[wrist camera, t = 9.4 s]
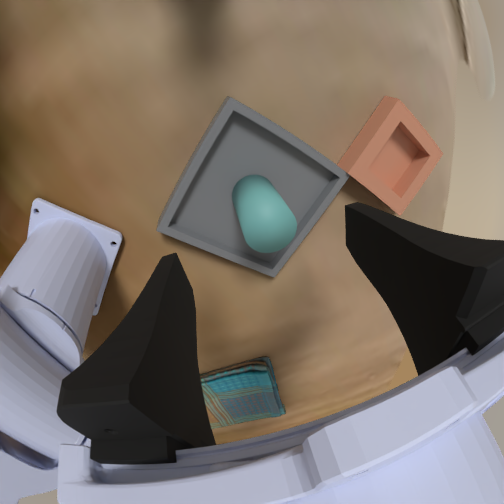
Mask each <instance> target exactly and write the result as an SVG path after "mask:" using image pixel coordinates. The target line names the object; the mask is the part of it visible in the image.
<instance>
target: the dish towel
mask: <svg viewBox="0 0 504 504" xmlns="http://www.w3.org/2000/svg"><path fill="white" fill-rule="evenodd" d="M200 379H201V385H202V390H203V395H204V400H205V405H206V409H207V413H208V417H209V421H210V425H211V429H214V428H220V427H224V426H229V425H233V424H238V423H242V422H246V421H253V420H257V419H263V418H270V417H278V416H281V415H282V414H286V410H285V406H284V404H282V402H281V399H280V396H279V393H278V387H277V384H276V380H275V376H274V372H273V367H272V364H271V361H270V359H269V357H260V358H256V359H252V360H249V361H246V362H242V363H239V364H235V365H232V366H229V367H226V368H222V369H219V370H216V371H211V372H209V373H206V374H201V375H200Z"/></svg>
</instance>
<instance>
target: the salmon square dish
mask: <svg viewBox="0 0 504 504" xmlns="http://www.w3.org/2000/svg"><path fill="white" fill-rule="evenodd" d="M442 155H443V153H442V151H441V150H440V148H439V147H438V146H437V144H436V143H435V142H434V140H433V139H432V138H431V136H430V135H429V134H428V133H427V131H426V130H425V129H424V128H423V126H422V125H421V124H420V123H419V121H418V120H417V119H416V118H415V117H414V115H413V114H412V113H411V112H410V111H409V110H408V109H407V107H406V106H405V105H404V104H403V103H402V102H401V101H400V100H399V99H397V98H392V97H388V96H384V98H383V99H382V101H381V102H380V104H379V105H378V107H377V108H376V110H375V111H374V112H373V114H372V115H371V117H370V118H369V120H368V121H367V123H366V124H365V125H364V127H363V128H362V130H361V131H360V133H359V134H358V136H357V137H356V138H355V140H354V141H353V143H352V144H351V146H350V147H349V148H348V150H347V151H346V153H345V154H344V156H343V157H342V158H341V160H340V161H339V163H338V164H337V166H339V167H340V168H341V169H343V170H344V171H345V172H347V173H348V174H349V175H350V176H351V177H353V178H354V179H355V180H357V181H358V182H359V183H360V184H362V185H363V186H364V187H365V188H367V189H368V190H369V191H370V192H372V193H373V194H374V195H375V196H377V197H378V198H379V199H380V200H381V201H383V202H384V203H385V204H386V205H387V206H388V207H390V208H391V209H392V210H393V211H395V212H396V213H397V214H398V215H399V216H400V215H401V214H402V213H403V211H404V210H405V209H406V207H407V206H408V205H409V203H410V202H411V200H412V199H413V198H414V196H415V195H416V193H417V192H418V191H419V189H420V188H421V186H422V185H423V183H424V182H425V180H426V179H427V178H428V176H429V175H430V173H431V172H432V170H433V169H434V167H435V166H436V164H437V163H438V161H439V159H440V158H441V156H442Z"/></svg>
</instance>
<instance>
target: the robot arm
mask: <svg viewBox="0 0 504 504" xmlns="http://www.w3.org/2000/svg"><path fill="white" fill-rule="evenodd" d="M36 209H38V210H39V212H37V211H36ZM345 221H346V246H347V248H348V249H349V251H350V253H351V255H352V257H353V258H354V260H355V262H356V263H357V265H358V266H359V267H360V269H361V270H362V271H363V273H364V274H365V275H366V277H367V278H368V279H369V280H370V282H371V283H372V284H373V286H374V287H375V288H376V290H377V291H378V293H379V294H380V295H381V297H382V298H383V300H384V301H385V303H386V304H387V306H388V308H389V309H390V311H391V313H392V315H393V317H394V319H395V320H396V322H397V324H398V326H399V329H400V331H401V333H402V335H403V337H404V339H405V341H406V344H407V346H408V348H409V351H410V353H411V356H412V358H413V361H414V364H415V367H416V370H417V373H418V377H415V378H414V379H412V380H410V381H408V382H406V383H404V384H402V385H400V386H398V387H396V388H394V389H392V390H390V391H388V392H385V393H383V394H381V395H379V396H377V397H374V398H372V399H370V400H368V401H365V402H363V403H360V404H358V405H356V406H353V407H351V408H348V409H346V410H343V411H340V412H338V413H335V414H332V415H329V416H327V417H324V418H321V419H318V420H315V421H312V422H309V423H306V424H302V425H299V426H296V427H293V428H289V429H286V430H282V431H278V432H275V433H271V434H267V435H263V436H258V437H254V438H250V439H245V440H240V441H235V442H230V443H225V444H219V445H216V443H215V440H214V436H213V433H212V429H211V425H210V421H209V417H208V413H207V409H206V405H205V400H204V395H203V390H202V385H201V379H200V374H199V368H198V359H197V336H196V308H195V301H194V295H193V289H192V287H191V285H190V283H189V280H188V278H187V276H186V274H185V271H184V269H183V267H182V265H181V262H180V260H179V258H178V256H177V253H173V254H170V255H167V256H163V257H162V258H161V260H160V261H159V263H158V265H157V267H156V268H155V270H154V272H153V274H152V275H151V277H150V279H149V280H148V282H147V284H146V286H145V287H144V289H143V291H142V292H141V294H140V295H139V297H138V298H137V300H136V302H135V303H134V305H133V306H132V308H131V309H130V311H129V312H128V314H127V315H126V316H125V318H124V319H123V320H122V322H121V323H120V324H119V325H118V327H117V328H116V329H115V330H114V331H113V332H112V334H111V335H110V336H109V337H108V338H107V339H106V340H105V342H104V343H103V344H102V345H101V346H100V347H99V348H98V349H97V350H96V351H95V352H94V353H93V354H92V355H91V356H90V357H89V358H88V359H87V360H86V361H84V359H83V357H82V355H83V350H84V346H85V342H86V337H87V333H88V330H89V326H90V322H91V318H92V315H97V314H98V311H99V307H100V304H101V300H102V297H103V294H104V291H105V287H106V284H107V281H108V278H109V275H110V272H111V269H112V266H113V263H114V261H115V258H116V255H117V252H118V249H119V247H120V244H121V241H122V234H121V233H120V232H118V231H116V230H113V229H111V228H109V227H106V226H104V225H101V224H99V223H97V222H94V221H92V220H89V219H87V218H85V217H82V216H80V215H78V214H75V213H73V212H71V211H68V210H66V209H64V208H61V207H59V206H57V205H54V204H52V203H50V202H47V201H45V200H43V199H41V198H36V199H35V200H34V201H33V204H32V209H31V215H30V222H29V229H28V237H27V241H26V242H25V243H24V245H23V246H22V247H21V249H20V250H19V252H18V253H17V254H16V256H15V257H14V259H13V260H12V262H11V263H10V265H9V266H8V268H7V269H6V271H5V272H4V274H3V275H2V277H1V278H0V504H18V501H19V499H21V498H23V497H27V496H31V495H36V494H41V493H45V492H49V491H52V490H56V489H58V503H59V504H504V457H503V455H502V453H501V451H500V449H499V447H498V445H497V443H496V441H495V439H494V437H493V435H492V433H491V431H490V429H489V427H488V425H487V423H486V422H485V420H484V418H483V416H482V414H483V413H484V412H485V411H486V410H488V409H489V408H490V407H491V406H492V405H494V404H495V403H496V402H497V401H498V400H499V399H500V398H501V397H502V396H504V241H503V240H485V239H477V238H470V237H464V236H458V235H453V234H449V233H444V232H441V231H437V230H434V229H430V228H427V227H424V226H421V225H418V224H415V223H412V222H409V221H406V220H404V219H401V218H399V217H396V216H394V215H391V214H389V213H386V212H383V211H381V210H378V209H376V208H373V207H371V206H368V205H365V204H362V203H358V202H357V203H353V204H349V205H345ZM112 241H114V242H116V245H115V244H112Z"/></svg>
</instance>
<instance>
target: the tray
mask: <svg viewBox="0 0 504 504" xmlns="http://www.w3.org/2000/svg"><path fill="white" fill-rule="evenodd" d="M248 175H261V176H264V177H265V178H267V179H268V180H269V181H270V182H271V183H272V185H273V186H274V187H275V189H276V190H277V192H278V193H279V194H280V196H281V197H282V199H283V200H284V202H285V203H286V204H287V206H288V207H289V209H290V210H291V212H292V213H293V214H294V216H295V218H296V221H297V230H296V234H295V236H294V238H293V239H292V241H291V242H290V243H289V244H288V245H287V246H286V247H284V248H283V249H281V250H279V251H276V252H272V253H262V252H258V251H256V250H254V249H252V248H251V247H250V246H249V245H248V244H247V242H246V241H245V238H244V235H243V232H242V229H241V226H240V222H239V219H238V216H237V213H236V210H235V207H234V204H233V201H232V191H233V188H234V186H235V185H236V183H237V182H238V181H239V180H240V179H242V178H243V177H245V176H248ZM349 177H350V175H349V174H348V173H347V172H345V171H344V170H343V169H341V168H340V167H339V166H337V165H336V164H335V163H333V162H332V161H330V160H329V159H328V158H326V157H325V156H323V155H322V154H321V153H319V152H318V151H316V150H315V149H314V148H312V147H311V146H309V145H308V144H306V143H305V142H303V141H302V140H300V139H299V138H297V137H296V136H294V135H293V134H291V133H290V132H288V131H287V130H285V129H283V128H282V127H280V126H279V125H277V124H276V123H274V122H272V121H271V120H269V119H267V118H266V117H264V116H262V115H261V114H259V113H257V112H256V111H254V110H252V109H251V108H249V107H247V106H245V105H244V104H242V103H240V102H238V101H237V100H235V99H233V98H231V97H229V96H227V98H226V99H225V101H224V102H223V104H222V105H221V107H220V109H219V110H218V112H217V113H216V115H215V117H214V118H213V120H212V122H211V123H210V125H209V127H208V128H207V130H206V132H205V133H204V135H203V137H202V139H201V140H200V142H199V144H198V146H197V147H196V149H195V151H194V153H193V154H192V156H191V158H190V160H189V162H188V163H187V165H186V167H185V169H184V171H183V173H182V175H181V176H180V178H179V180H178V182H177V184H176V186H175V188H174V190H173V192H172V194H171V196H170V198H169V200H168V202H167V204H166V206H165V208H164V210H163V212H162V214H161V216H160V218H159V220H158V225H157V230H156V231H158V232H161V233H163V234H166V235H168V236H171V237H173V238H176V239H178V240H181V241H183V242H186V243H188V244H190V245H193V246H195V247H198V248H200V249H203V250H205V251H208V252H210V253H213V254H215V255H218V256H221V257H223V258H226V259H228V260H231V261H233V262H236V263H238V264H241V265H243V266H246V267H248V268H251V269H253V270H256V271H259V272H261V273H264V274H266V275H269V276H271V277H275V276H276V275H277V273H278V272H279V271H280V270H281V268H282V267H283V266H284V264H285V263H286V262H287V260H288V259H289V258H290V257H291V255H292V254H293V253H294V251H295V250H296V249H297V247H298V246H299V245H300V243H301V242H302V241H303V239H304V238H305V237H306V235H307V234H308V233H309V231H310V230H311V229H312V227H313V226H314V225H315V223H316V222H317V221H318V219H319V218H320V217H321V215H322V214H323V212H324V211H325V210H326V208H327V207H328V206H329V204H330V203H331V202H332V200H333V199H334V197H335V196H336V195H337V193H338V192H339V191H340V189H341V188H342V186H343V185H344V184H345V182H346V181H347V179H348V178H349Z"/></svg>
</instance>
